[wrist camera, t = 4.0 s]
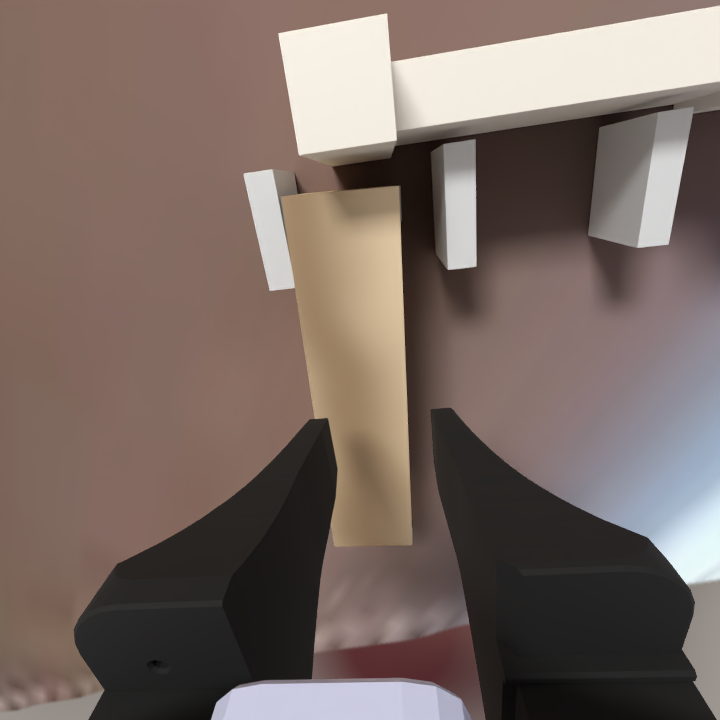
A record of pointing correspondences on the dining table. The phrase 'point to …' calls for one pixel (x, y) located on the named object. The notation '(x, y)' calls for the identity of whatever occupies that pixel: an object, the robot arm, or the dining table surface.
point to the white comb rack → (498, 117)
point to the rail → (356, 352)
